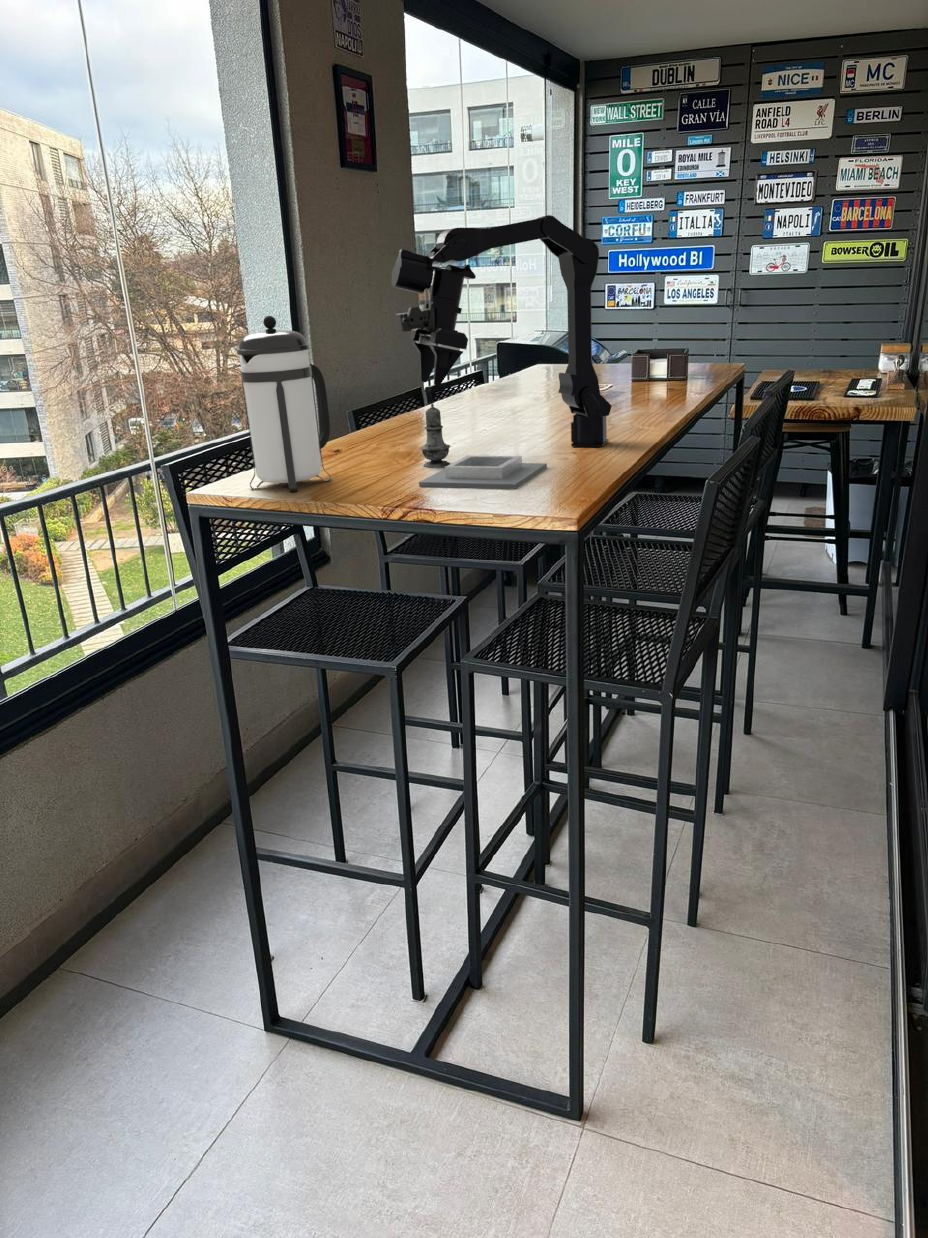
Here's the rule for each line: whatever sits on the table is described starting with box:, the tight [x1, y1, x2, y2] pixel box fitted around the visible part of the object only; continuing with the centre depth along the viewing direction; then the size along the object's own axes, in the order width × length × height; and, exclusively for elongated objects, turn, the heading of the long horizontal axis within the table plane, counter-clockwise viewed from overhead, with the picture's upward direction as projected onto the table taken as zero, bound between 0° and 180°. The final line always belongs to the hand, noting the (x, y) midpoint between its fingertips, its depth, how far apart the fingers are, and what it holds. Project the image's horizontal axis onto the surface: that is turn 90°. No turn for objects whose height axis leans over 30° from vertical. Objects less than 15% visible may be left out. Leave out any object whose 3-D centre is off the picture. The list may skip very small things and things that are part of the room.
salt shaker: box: [420, 402, 451, 469], centre depth 177 cm, size 6×6×12 cm
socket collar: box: [444, 455, 523, 479], centre depth 164 cm, size 11×11×2 cm
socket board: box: [418, 462, 548, 490], centre depth 165 cm, size 18×18×1 cm
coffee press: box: [235, 315, 331, 493], centre depth 165 cm, size 17×16×30 cm
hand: (430, 383), depth 175 cm, fingers open, 9 cm apart
